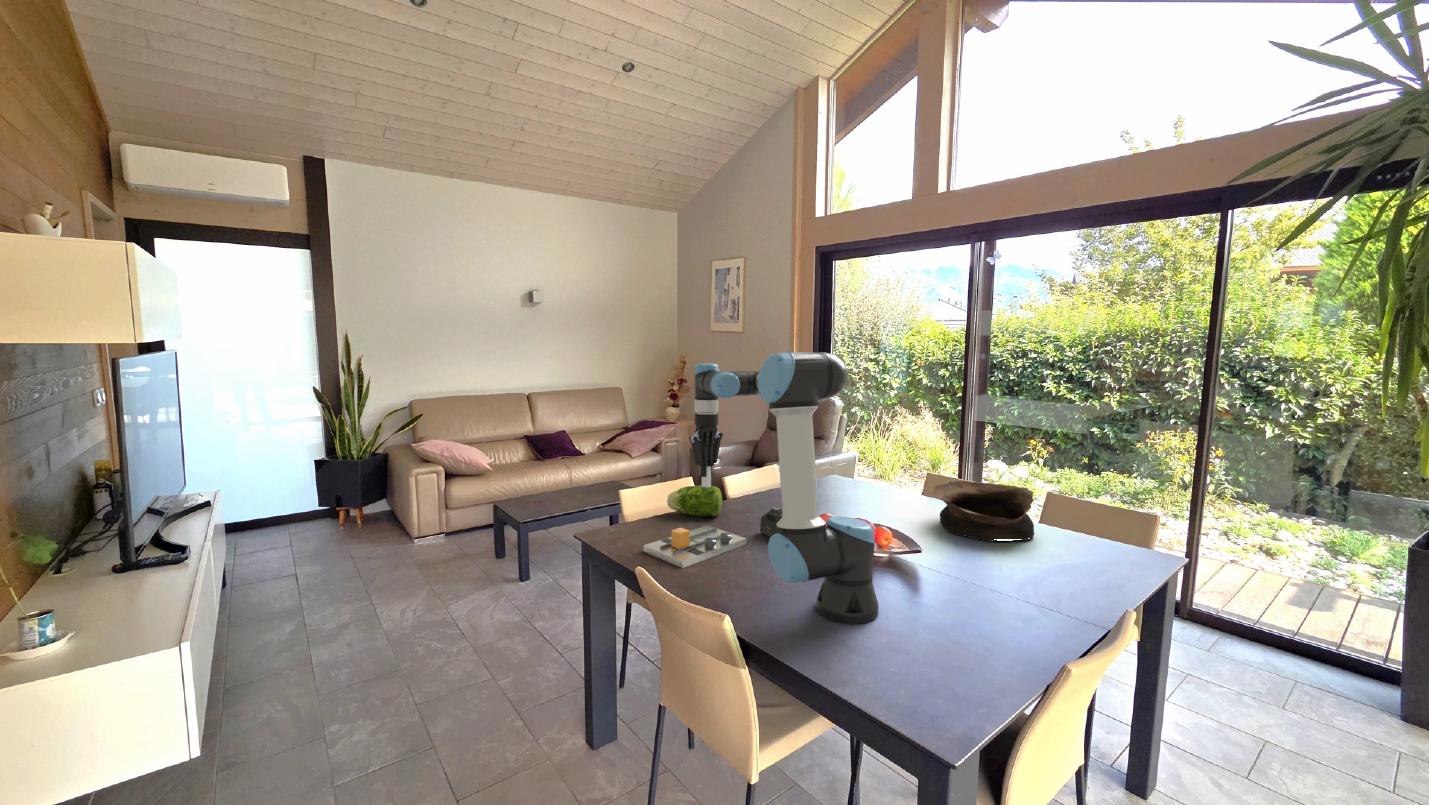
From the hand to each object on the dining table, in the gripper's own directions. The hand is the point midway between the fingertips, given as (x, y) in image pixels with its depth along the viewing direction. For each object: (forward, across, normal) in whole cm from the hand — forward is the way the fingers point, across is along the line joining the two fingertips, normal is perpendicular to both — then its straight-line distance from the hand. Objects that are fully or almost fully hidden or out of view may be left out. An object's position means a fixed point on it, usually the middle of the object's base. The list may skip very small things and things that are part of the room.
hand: (706, 486), depth 194 cm
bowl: (+20, -81, +56) cm, 101 cm away
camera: (+20, -24, +11) cm, 33 cm away
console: (+20, +4, -1) cm, 20 cm away
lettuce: (+19, -19, -26) cm, 38 cm away
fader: (+17, +10, -1) cm, 20 cm away
